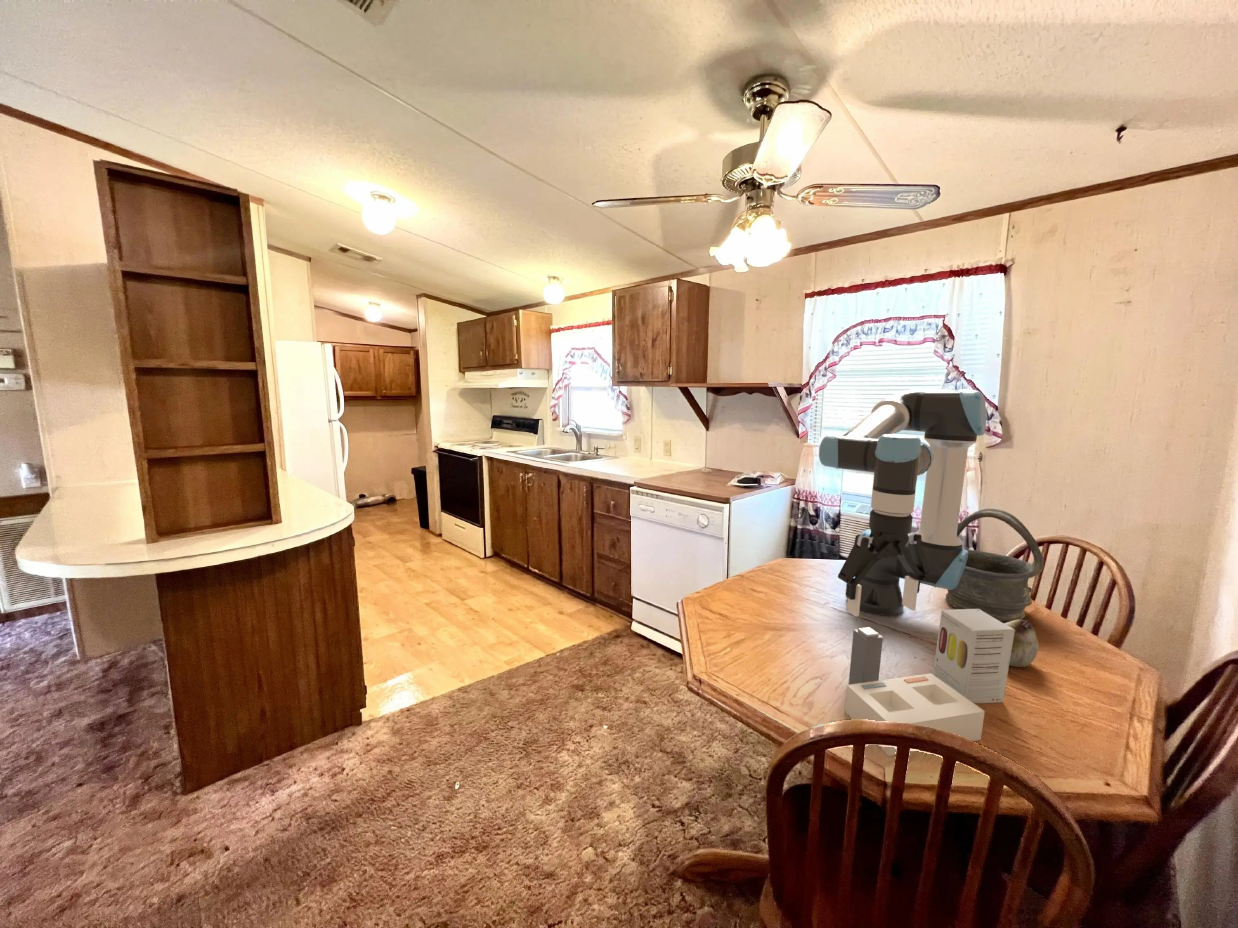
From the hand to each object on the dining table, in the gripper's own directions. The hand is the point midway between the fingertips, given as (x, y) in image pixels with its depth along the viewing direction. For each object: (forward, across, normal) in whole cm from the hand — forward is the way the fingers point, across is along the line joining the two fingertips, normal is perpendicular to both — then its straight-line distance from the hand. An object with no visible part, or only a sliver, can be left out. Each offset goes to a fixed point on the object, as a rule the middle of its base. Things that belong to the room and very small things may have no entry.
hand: (880, 610), depth 100 cm
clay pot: (+19, -63, -29) cm, 72 cm away
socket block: (+19, 0, +10) cm, 22 cm away
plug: (+19, 0, -2) cm, 19 cm away
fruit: (+19, -42, -4) cm, 46 cm away
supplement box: (+19, -22, +3) cm, 29 cm away
